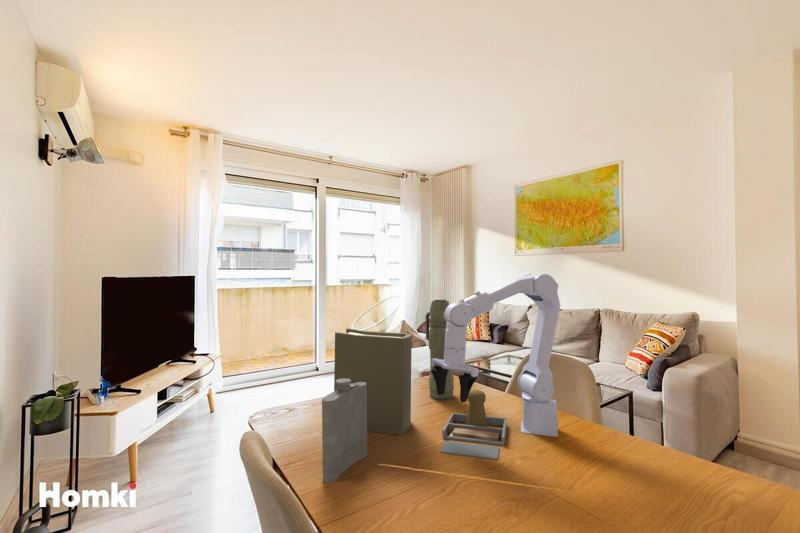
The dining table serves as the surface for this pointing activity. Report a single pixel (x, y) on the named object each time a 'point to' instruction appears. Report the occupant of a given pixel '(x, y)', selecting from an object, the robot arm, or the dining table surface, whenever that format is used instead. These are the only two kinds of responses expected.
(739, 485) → the dining table surface
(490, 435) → the top offcut
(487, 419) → the rack
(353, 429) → the hip flask
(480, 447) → the slate mat
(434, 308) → the thermos
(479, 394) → the cork
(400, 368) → the book
